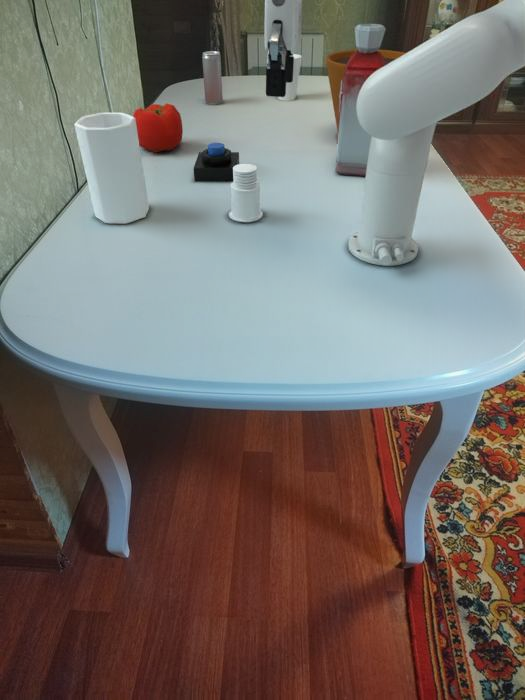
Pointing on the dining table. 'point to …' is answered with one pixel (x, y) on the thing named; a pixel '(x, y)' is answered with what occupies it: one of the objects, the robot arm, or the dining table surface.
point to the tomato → (158, 127)
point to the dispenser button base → (215, 166)
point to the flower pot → (337, 67)
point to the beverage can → (212, 77)
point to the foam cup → (292, 87)
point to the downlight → (245, 194)
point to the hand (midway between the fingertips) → (279, 88)
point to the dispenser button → (216, 149)
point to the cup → (113, 166)
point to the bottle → (357, 71)
